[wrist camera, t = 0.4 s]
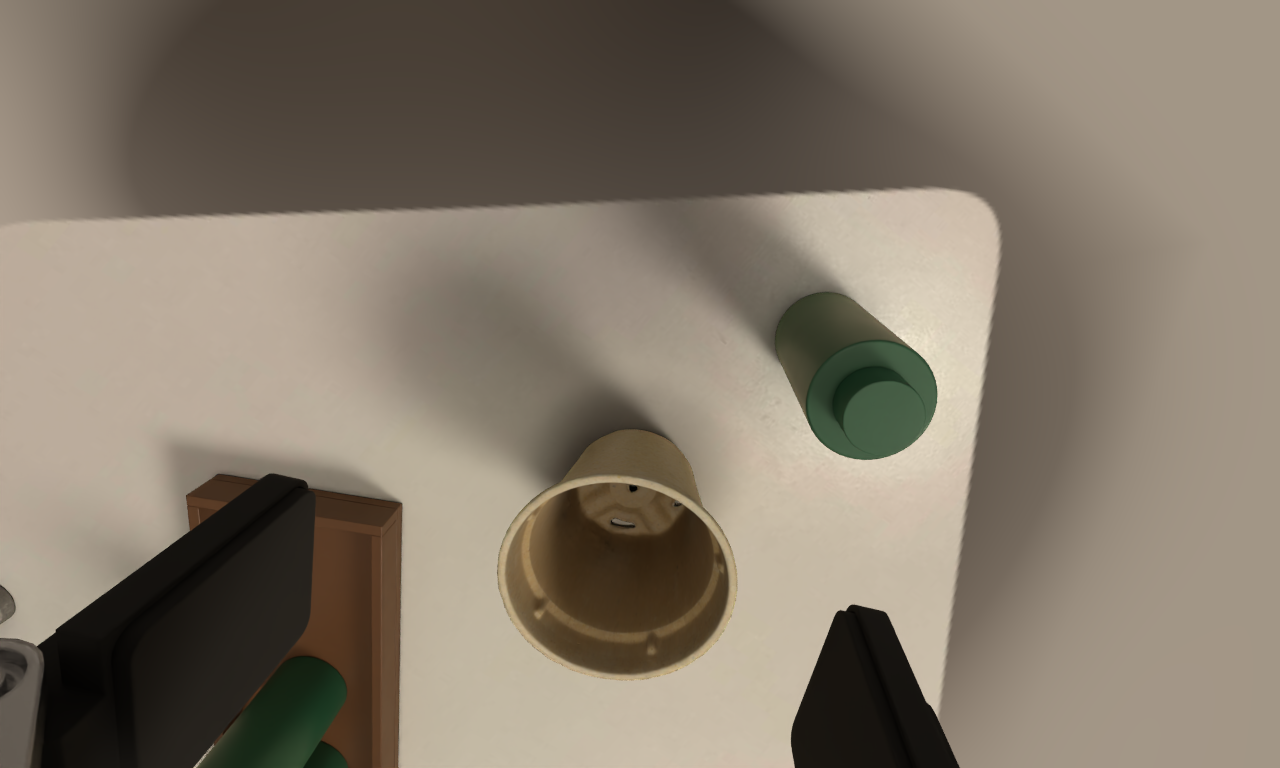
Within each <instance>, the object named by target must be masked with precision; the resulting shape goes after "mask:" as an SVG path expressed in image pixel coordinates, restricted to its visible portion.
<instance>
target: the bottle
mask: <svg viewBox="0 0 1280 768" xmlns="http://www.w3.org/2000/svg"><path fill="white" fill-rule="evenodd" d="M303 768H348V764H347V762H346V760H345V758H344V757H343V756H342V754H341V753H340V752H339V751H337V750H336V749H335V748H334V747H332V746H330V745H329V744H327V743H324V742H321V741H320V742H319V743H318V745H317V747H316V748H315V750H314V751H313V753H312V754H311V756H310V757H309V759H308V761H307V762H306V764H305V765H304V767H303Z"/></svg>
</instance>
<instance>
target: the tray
mask: <svg viewBox="0 0 1280 768" xmlns="http://www.w3.org/2000/svg"><path fill="white" fill-rule="evenodd" d="M256 482H258V480H252V479H245V478H239V477H233V476H227V475H220V474H218V475H216V476H215V477H213V478H212V479H211V480H209V481H207V482H206V483H204V484H203V485H201V486H200V487H198V488H197V489H195V490H194V491H192V492H191V493H189V494H188V495H186V500H187V505H188V506H187V509H188V518H189V526H190V531H191V530H192V529H194V528H195V527H196V526H198V525H199V524H200V523H202V522H203V521H204V520H206V519H207V518H209V517H210V516H211V515H213V514H214V513H215V512H217V511H218V510H219V509H221V508H222V507H224V506H225V505H226V504H228V503H229V502H230V501H232V500H233V499H234V498H236V497H237V496H239V495H240V494H241V493H243V492H244V491H245V490H247V489H248V488H249V487H251V486H252V485H254V484H255V483H256ZM308 490H310V491H313V492H314V493H315V495H316V507H315V529H314V550H313V572H312V594H311V613H310V619H309V622H308V625H307V627H306V629H305V631H304V633H303V634H302V636H301V637H300V639H299V640H298V641H297V642H296V643H295V645H294V646H293V647H292V648H291V649H290V651H289V652H288V653H287V654H286V656H285V657H284V658H283V659H282V660H281V662H280V663H279V664H278V665H277V666H276V668H275V669H274V670H273V671H272V673H271V674H270V675H269V676H268V677H267V679H266V680H265V681H264V682H263V684H262V685H261V686H260V687H259V688H258V690H257V691H256V692H255V693H254V694H253V696H252V697H251V698H250V699H249V701H248V702H247V703H246V704H245V705H244V707H243V708H242V709H241V710H240V711H239V713H238V714H237V715H236V716H235V718H234V719H233V720H232V721H231V722H230V724H229V725H228V726H227V727H226V728H225V730H224V731H223V732H222V733H221V735H220V736H219V737H218V738H217V739H216V741H215V742H214V746H215V745H216V743H217V742H218V741H219V740H220V739H221V737H222V736H223V735H224V734H225V732H226V731H227V730H228V729H229V728H230V726H231V725H232V724H233V723H234V721H235V720H236V719H237V718H238V717H239V715H240V714H241V713H242V712H243V710H244V709H245V708H246V707H247V706H248V704H249V703H250V702H251V701H252V699H253V698H254V697H255V696H256V695H257V693H258V692H259V691H260V690H261V688H262V687H263V686H264V685H265V684H266V682H267V681H268V680H269V679H270V677H271V676H272V675H273V674H274V673H275V671H276V670H277V669H278V668H279V666H280V665H281V664H282V663H284V662H285V661H287V660H288V659H291V658H294V657H300V656H307V657H313V658H317V659H320V660H322V661H325V662H326V663H328V664H330V665H331V666H333V667H334V668H335V669H336V670H337V671H338V672H339V673H340V674H341V676H342V677H343V679H344V681H345V683H346V687H347V697H346V701H345V703H344V704H343V706H342V708H341V709H340V711H339V712H338V714H337V715H336V717H335V718H334V720H333V722H332V723H331V725H330V726H329V728H328V729H327V731H326V733H325V734H324V736H323V737H322V739H321V740H320V741H321V742H324V743H327V744H329V745H330V746H332V747H334V748H335V749H336V750H337V751H339V752H340V753H341V754H342V756H343V757H344V758H345V760H346V762H347V764H348V768H398V734H399V665H400V596H401V527H402V504H401V503H395V502H389V501H383V500H376V499H370V498H364V497H358V496H351V495H345V494H339V493H333V492H327V491H320V490H314V489H308Z"/></svg>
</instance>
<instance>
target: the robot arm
mask: <svg viewBox="0 0 1280 768" xmlns="http://www.w3.org/2000/svg"><path fill="white" fill-rule="evenodd" d="M315 507H316V495H315V493H314V492H313V491H310V490H308V485H307V483H306V482H305V481H304V480H300V479H296V478H291V477H287V476H283V475H278V474H268V475H266V476H264V477H263V478H262V479H260V480H259V481H258V482H256V483H255V484H254V485H252V486H251V487H249V488H248V489H247V490H245V491H244V492H243V493H241V494H240V495H239V496H237V497H236V498H234V499H233V500H232V501H230V502H229V503H228V504H226V505H225V506H224V507H222V508H221V509H219V510H218V511H217V512H215V513H214V514H213V515H211V516H210V517H209V518H207V519H206V520H204V521H203V522H202V523H200V524H199V525H198V526H196V527H195V528H194V529H192V530H191V531H189V532H188V533H187V534H185V535H184V536H183V537H181V538H180V539H179V540H177V541H176V542H174V543H173V544H172V545H170V546H169V547H168V548H166V549H165V550H164V551H162V552H161V553H159V554H158V555H157V556H155V557H154V558H153V559H151V560H150V561H149V562H147V563H146V564H144V565H143V566H142V567H140V568H139V569H138V570H136V571H135V572H134V573H132V574H131V575H129V576H128V577H127V578H125V579H124V580H123V581H121V582H120V583H119V584H117V585H116V586H114V587H113V588H112V589H110V590H109V591H108V592H106V593H105V594H104V595H102V596H101V597H99V598H98V599H97V600H95V601H94V602H93V603H91V604H90V605H89V606H87V607H86V608H84V609H83V610H82V611H80V612H79V613H78V614H76V615H75V616H74V617H72V618H71V619H69V620H68V621H67V622H65V623H64V624H63V625H61V626H60V627H59V628H57V629H56V633H54V634H53V635H52V636H50V637H49V638H48V639H46V640H45V641H43V642H42V643H41V644H39V645H38V646H37V647H36V646H35V645H34V644H32V643H29V642H26V641H23V640H20V639H8V638H0V768H193V767H194V766H195V765H196V764H197V762H198V761H199V760H200V759H201V758H202V756H203V755H204V754H205V753H206V752H207V750H208V749H209V748H210V747H211V745H212V744H213V743H214V742H215V741H216V739H217V738H218V737H219V736H220V735H221V733H222V732H223V731H224V730H225V728H226V727H227V726H228V725H229V724H230V722H231V721H232V720H233V719H234V718H235V716H236V715H237V714H238V713H239V711H240V710H241V709H242V708H243V707H244V705H245V704H246V703H247V702H248V701H249V699H250V698H251V697H252V696H253V694H254V693H255V692H256V691H257V690H258V688H259V687H260V686H261V685H262V684H263V682H264V681H265V680H266V679H267V677H268V676H269V675H270V674H271V673H272V671H273V670H274V669H275V668H276V666H277V665H278V664H279V663H280V662H281V660H282V659H283V658H284V657H285V656H286V654H287V653H288V652H289V651H290V649H291V648H292V647H293V646H294V645H295V643H296V642H297V641H298V640H299V639H300V637H301V636H302V634H303V633H304V631H305V629H306V627H307V625H308V622H309V619H310V613H311V594H312V572H313V550H314V529H315ZM791 747H792V753H793V759H794V765H795V768H960V767H959V765H958V764H957V761H956V759H955V757H954V754H953V752H952V750H951V747H950V745H949V743H948V741H947V739H946V736H945V734H944V732H943V730H942V727H941V725H940V723H939V721H938V718H937V716H936V714H935V712H934V711H933V709H932V707H931V706H930V705H929V704H928V703H926V701H925V699H924V696H923V694H922V692H921V689H920V687H919V685H918V683H917V680H916V678H915V676H914V674H913V671H912V669H911V667H910V664H909V662H908V660H907V658H906V655H905V653H904V651H903V649H902V646H901V644H900V642H899V640H898V637H897V635H896V633H895V630H894V628H893V626H892V624H891V621H890V619H889V617H888V615H887V614H886V613H885V612H883V611H880V610H875V609H871V608H867V607H862V606H858V605H850V606H849V607H848V608H847V610H846V611H841V610H840V611H838V612H837V613H836V615H835V617H834V619H833V622H832V624H831V627H830V630H829V632H828V635H827V637H826V640H825V642H824V645H823V648H822V650H821V653H820V655H819V658H818V661H817V663H816V666H815V668H814V671H813V673H812V676H811V679H810V681H809V684H808V686H807V689H806V692H805V694H804V697H803V699H802V702H801V704H800V707H799V710H798V712H797V715H796V717H795V720H794V723H793V726H792V732H791Z"/></svg>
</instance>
